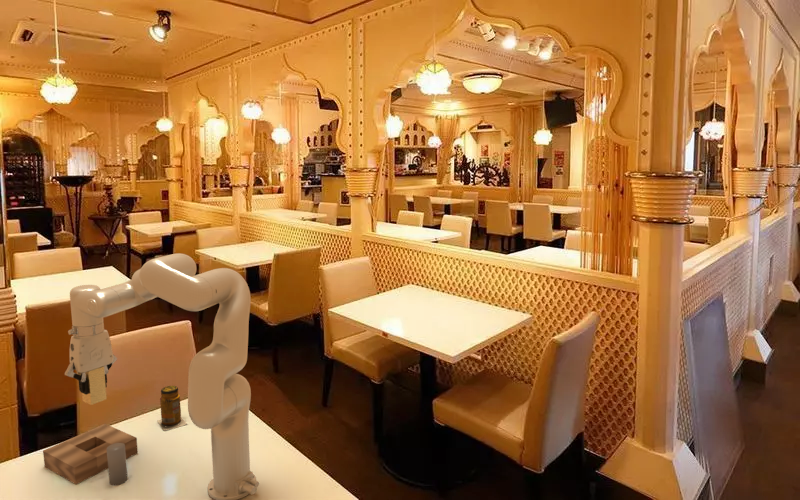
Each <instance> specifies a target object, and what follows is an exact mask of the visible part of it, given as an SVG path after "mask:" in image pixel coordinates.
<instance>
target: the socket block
mask: <svg viewBox="0 0 800 500" xmlns="http://www.w3.org/2000/svg"><path fill="white" fill-rule="evenodd" d="M137 440H138V439H137V437H136V436H133V435H131V434H129V433H127V432H125V431H122V430H120V429H118V428H115V427H113V426H111V425H109V424H106V423H104V424H101V425H99V426H96V427H94V428H93V429H92V428H91V429H90V430H87V431H85V432H83V433H80V434H78V435H76V436H74V437H71V438H69V439H67V440H64V441H62V442H60V443H57V444H55V445H53V446H51V447H48V448H46V449H44V450H43V451H42V455H43V463H44V468H46V469H49V470H50V471H51V470H52V471H51V472H53V473H55V474H56V475H59V476H60V477H62V478H64V479H66V480H68V481H69V482H71V483H73V484H74V485H78V484H80V483H82V482H84V481H86V480H88V479H89V478H92V477H94V476H96V475H98V474H99V473H101V472H104V471H106V470H108V460H107V447H108V446H110V445H112V444H115V443H124V444H125V453H126V460H127V459H129V458H131V457H133V456H134V455H136V454H138V450H139V449H138V441H137Z"/></svg>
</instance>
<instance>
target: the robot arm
mask: <svg viewBox="0 0 800 500" xmlns="http://www.w3.org/2000/svg"><path fill="white" fill-rule="evenodd" d="M196 273H197V264H196V262H195V260H194V259H193V258H192V257H191V256H190V255H188V254H186V253H179V252H178V253H173V254H168V255H167V254H166V255H163V256H160V257H156V258H152V259H149V260H148V261H145V263H144V264H143V265H142V267H141V268H139V269H137V270H136V271H134V273H133V275H131V279H130V280H128V281H125V282H122V283H118V284H115V285H111V286H109V287H106V288H101V287H100V286H98V285H95V284H83V285H82V284H81V285H78V286H74V287H73V288H71V290H70V292H69V299H70V300H69V301H70V311H71V312H70V313H71V314H70V315H71V323H72V324H71V325H72V326H71V328H70V329H69V330H68V331H67V333H68V335H69V336H70V335H71V338H70V342H69V343H70V344H69V364H68V366H67V369H66V370H65V372H64V376H67V377H69V378H73V379H75V380H77V381H78V390H79V392H80V393H81V394H82V393H84V394H86V395H87V394H89V388H88V381H86V375H87V372H88V371H91V370H94V369H97V368H100V367H103V366H104V372H105V384H106V388H107V384H108V374H109V371H110V369H111V367H112V366H113V365H114V363H115V362H116V361H117V360H118V357H117V356H116V355H114V351H113V345H112V342H111V338H110V334H109V332H108V330H107V329H105V324H104V318H108V317H110V316H112V315H115V314H119V313H121V312H123V311H127V310H129V309H132V308H134V307H137V306H139V305H141V304H143V303H146V302H148V301H151V300H153V299H155V298H160V299H162V300H164V301H166V302H168V303H170V304H172V305H175V306H177V307H179V308H181V309H183V310H185V311H188V312H199V311H200V312H201V311H203V310H205V309H207V308H211V307H213V306H215V305H217V304H219V307H218V309H217V313H216V314H215V317H214V322H213V337H212V341H211V343H210V344H209V346H206V347H205V348H203V349H201V350H200V351H198V352H197V353H196V354H195V355H194V356H193V357H192V359H191V361H190V364H189V367H188V375H187V376H188V379H187V380H188V381H187V382H188V383H187V410H188V415H189V418H190V421H192V423H193V425H195V427H197V428H199V429H201V430H210V436H211V437H210V440H211V461H212V476H213V478H212V479H211V480H209V483H208V485H207V493H208V496H209V497H210V498H211V499H213V500H240V499H242V498H244V497H246V496H248V495H252V496H253V495H254V494H256V492H257V488H258V487H259V485H260V481H258V480H257V477H256V475H255V474H254V472H253V471H251V462H250V461H251V459H250V457H251V456H250V435H249V434H250V433H249V430H250V429H249V425H250V424H249V415H250V413H249V412H250V406H251V397H252V393H251V392H252V391H251V389H252V388H251V386H250V383H249V381H248V380H247V378H246V377H244V376H243V375H241V374H239V372H240V371H242V370H243V368H244V367H245V366H246V364H247V361H248V348H249V347H248V346H249V324H250V323H249V321H250V311H251V301H252V300H251V299H252V298H251V297H252V296H251V291H250V287H249V286H248V285H249V284H248V283H247V280H245V279H244V277H243V276H242V274H240V273H239V272H238V271H236V270H234V269H233V268H227V267H221V268H219V267H218V268H214V269H211V270H208V271H204V272H201V273H199V274H196ZM74 371H76V372H74Z"/></svg>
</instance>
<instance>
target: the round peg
mask: <svg viewBox="0 0 800 500" xmlns="http://www.w3.org/2000/svg"><path fill="white" fill-rule="evenodd" d="M107 460H108V468H107V470H108V481H109V485H111V486H120V485H122V484H124V483H126V482H127V481H128V479H129V477H128V465H127V459H126V453H125V444H124V443H115V444H112V445H110V446H108V447H107Z"/></svg>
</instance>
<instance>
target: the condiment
mask: <svg viewBox="0 0 800 500" xmlns="http://www.w3.org/2000/svg"><path fill="white" fill-rule="evenodd" d="M159 403H160V416H161V417H160V418H161V419H158V420H157V421H156V422H157V424H158V425H159V426H160V428H161V429H162V430H163V431H168V430H169V431H170V430H173V429H176V428H179V427H183V426H185V425H188V424H187V422H186V421H185V420H184V418H183V417H182V410H181V409H182V407H181V395H180V394H179V388H178V386H176V385H167V386H165V387H164V386H163V388H161V390H160V399H159Z"/></svg>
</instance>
